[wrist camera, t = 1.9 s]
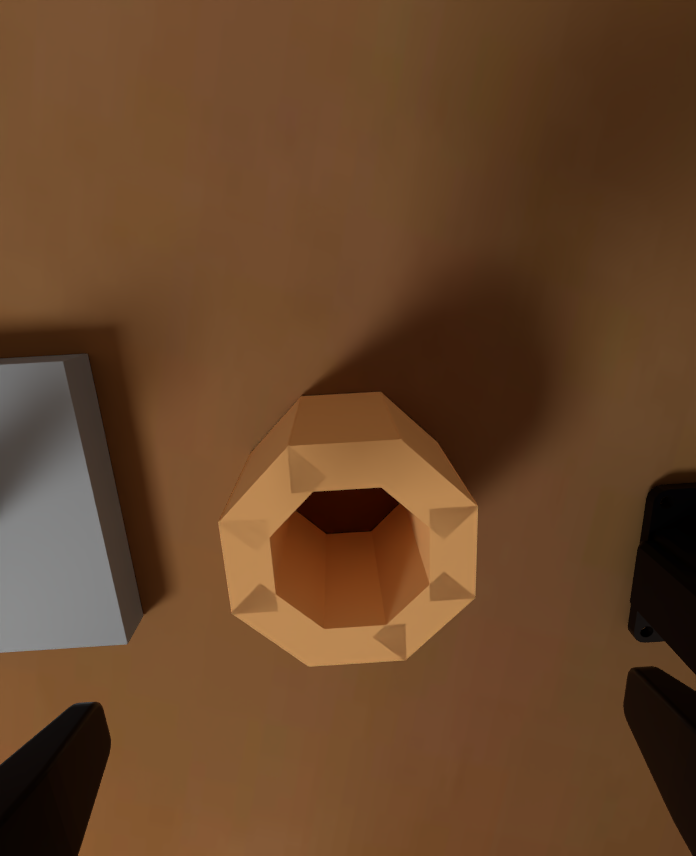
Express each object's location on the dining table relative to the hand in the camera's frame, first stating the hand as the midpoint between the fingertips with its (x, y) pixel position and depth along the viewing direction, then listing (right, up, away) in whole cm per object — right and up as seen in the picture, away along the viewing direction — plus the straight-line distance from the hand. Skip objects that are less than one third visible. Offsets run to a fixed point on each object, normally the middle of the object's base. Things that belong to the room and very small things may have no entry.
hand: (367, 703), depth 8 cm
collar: (0, +3, +9) cm, 9 cm away
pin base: (-13, +2, +9) cm, 16 cm away
